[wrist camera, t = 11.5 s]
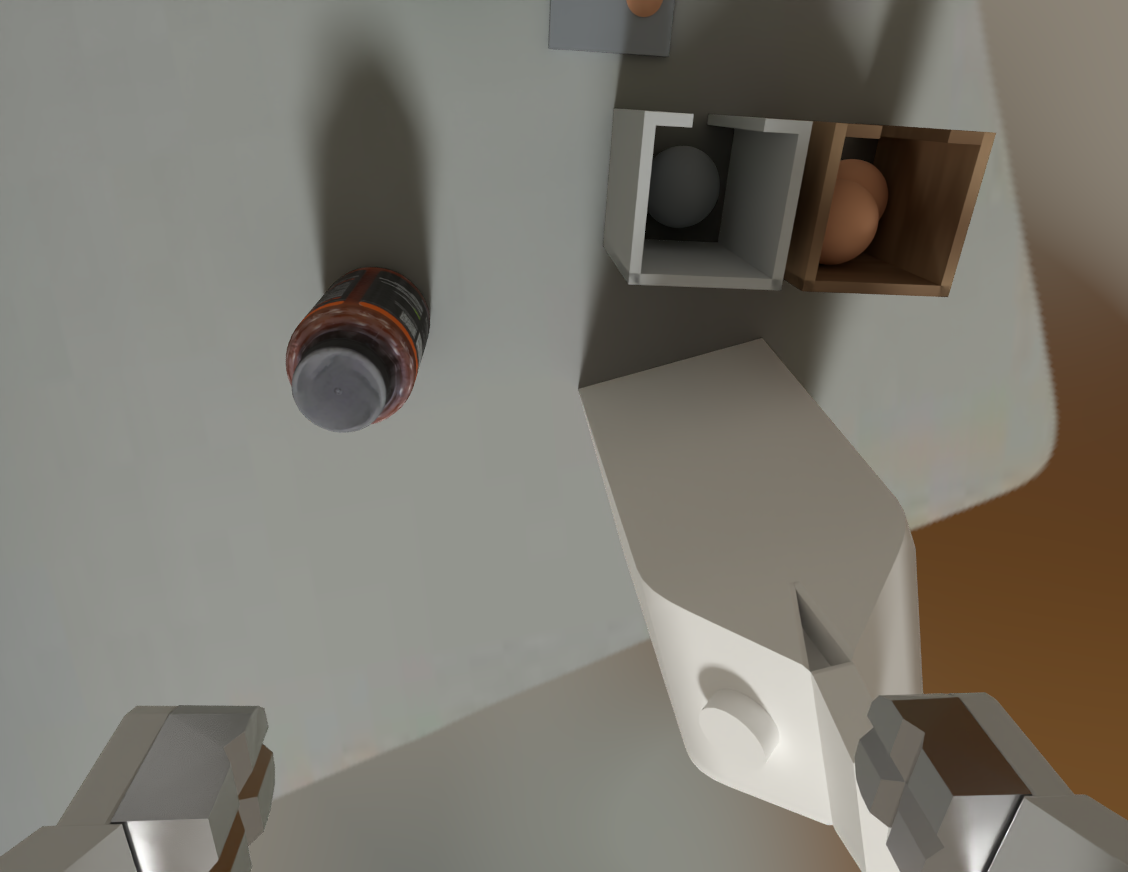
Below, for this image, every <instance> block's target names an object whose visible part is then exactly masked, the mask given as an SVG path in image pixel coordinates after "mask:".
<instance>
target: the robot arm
mask: <svg viewBox="0 0 1128 872" xmlns="http://www.w3.org/2000/svg"><path fill="white" fill-rule="evenodd" d="M867 717H868V718H869V720H870V722H871V724H872V725H873V728H872V729H871V730H870V731H869V732H868V733H866V734H865V735H864V736H863V737H862V738H860V739H859V742H858V746H857V750H856V753H855V757H854V759H855V773H856V780H857V783H858V787H859V790H860V793H861V796H862V798H863V800H864V802H865V804H866V806H867V808H868V810H869V812H870V813H871V814H872V815H873V816H875V817H876V818H877V819H878V820H880V821H881V822H882V823H883V824H885V825H886V826H887V827H888V828H889V829H888V834H887V840H886V846H887V847H888V849H889V851H890V853H891V855H892V857H893V859H894V861H895V863H896V865H897V867H898V869H899V871H900V872H1128V821H1127V820H1126V819H1124V818H1122V817H1121V816H1119V815H1118V814H1116V813H1114V812H1113V811H1111V810H1110V809H1108V808H1106V807H1105V806H1103V805H1102V804H1100V803H1098V802H1097V801H1095V800H1094V799H1092V798H1090V797H1089V796H1087V795H1074V793H1073V792H1072V791H1071V790H1070V789H1069V788H1068V786H1067V785H1066V784H1065V783H1064V781H1063V780H1062V779H1061V778H1060V776H1059V775H1058V774H1057V773H1056V772H1055V770H1054V769H1053V768H1052V767H1051V766H1050V764H1049V763H1048V762H1047V761H1046V759H1045V758H1044V757H1043V756H1042V755H1041V754H1040V752H1039V751H1038V750H1037V749H1036V747H1035V746H1034V745H1033V744H1032V742H1031V741H1030V740H1029V739H1028V738H1027V737H1026V735H1025V734H1024V733H1023V732H1022V730H1021V729H1020V728H1019V727H1018V726H1017V724H1016V723H1015V722H1014V721H1013V719H1012V718H1011V717H1010V716H1009V715H1008V713H1007V712H1006V711H1005V710H1004V709H1003V707H1002V706H1001V705H1000V704H999V702H998V701H997V700H995V699H994V698H993V697H991V696H990V695H988V694H986V693H954V694H953V693H950V694H907V695H879V696H878V697H877V698H876V699H875V700H874V701H872V703H871V706H870V709H869V711H868V714H867ZM267 730H268V722H267V718H266V713H265V708H263V707H260V706H196V705H179V706H136V707H135V708H133V709H132V710H131V711H130V712H128V713H127V714H126V715H125V716H124V717H123V719H122V721H121V722H120V724H119V725H118V727H117V729H116V730H115V732H114V734H113V735H112V737H111V738H110V740H109V742H108V743H107V745H106V746H105V748H104V750H103V751H102V753H101V754H100V756H99V758H98V759H97V761H96V762H95V764H94V766H93V767H92V769H91V770H90V772H89V774H88V775H87V777H86V779H85V780H84V782H83V783H82V785H81V787H80V788H79V790H78V791H77V793H76V795H75V796H74V798H73V799H72V801H71V803H70V804H69V806H68V807H67V809H66V811H65V812H64V814H63V816H62V817H61V819H60V820H59V822H58V824H57V825H56V826H42V827H41V828H39V829H38V830H37V831H35V832H34V833H33V834H31V835H30V836H28V837H27V838H26V839H24V840H23V841H21V842H20V843H19V844H17V845H16V846H15V847H13V848H12V849H10V850H9V851H8V852H6V853H5V854H3V855H2V856H1V857H0V872H251V869H252V864H251V859H250V854H249V848H248V846H249V845H250V844H251V843H252V842H253V841H254V840H256V839H257V838H258V836H260V835H261V834H262V833H263V832H264V829H265V826H266V822H267V820H268V816H269V813H270V810H271V804H272V798H273V792H274V786H275V764H274V757H273V752H272V751H271V750H269V749H268V748H267V747H266V746H265V745H264V744H263V741H264V738H265V735H266V733H267Z"/></svg>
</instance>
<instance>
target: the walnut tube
mask: <svg viewBox="0 0 1128 872" xmlns="http://www.w3.org/2000/svg"><path fill="white" fill-rule="evenodd" d="M772 119H777V118H772ZM786 120H793V119H786ZM800 121H808V120H800ZM995 135H996V133H991V132H976V131H962V130H947V129H933V128H918V127H904V126H889V125H873V124H857V123H855V124H850V123H836V122H822V121H813V124H812V129H811V135H810V140H809V145H808V150H807V156H806V161H805V166H804V171H803V177H802V182H801V187H800V193H799V198H798V203H797V208H796V214H795V219H794V224H793V230H792V235H791V240H790V245H789V251H788V256H787V261H786V267H785V272H784V277H783V279H784V280H786V281H787V282H789V283H790V284H792V285H793V286H795V287H796V288H798V289H800V290H801V291H809V292H834V293H860V294H885V295H911V296H936V297H948V295H949V292H950V289H951V285H952V282H953V278H954V275H955V271H956V268H957V265H958V261H959V258H960V254H961V251H962V247H963V244H964V241H965V237H966V234H967V230H968V227H969V224H970V220H971V217H972V213H973V210H974V206H975V203H976V200H977V196H978V193H979V189H980V186H981V182H982V179H983V176H984V172H985V169H986V165H987V162H988V159H989V155H990V152H991V148H992V145H993V141H994V138H995ZM845 137H857V138H874V139H879V140H878V145H877V149H876V153H875V158H874V162H873V165H874V166H875V167H876V168H877V169H878V170H879V171H880V172H881V173H882V175H883V176H884V178H885V180H886V183H887V187H888V201H887V206H886V209H885V211H884V213H883V215H882V217H881V218H880V220H879V221H878V228H877V231H876V234H875V236H874V238H873V240H872V241H871V243H870V244H869V246H868V247H867V248H866V249H865V250H864V251H863V252H862V253H861V254H860V255H858V256H857V257H855V258H854V259H852V260H849V261H847V262H844V263H841V264H835V265H826V264H820V263H819V260H820V255H821V250H822V246H823V241H824V236H825V231H826V227H827V222H828V217H829V212H830V207H831V203H832V198H833V193H834V188H835V183H836V179H837V174H838V169H839V164H840V160H841V155H842V150H843V145H844V140H845Z"/></svg>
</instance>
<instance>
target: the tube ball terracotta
mask: <svg viewBox="0 0 1128 872" xmlns="http://www.w3.org/2000/svg"><path fill="white" fill-rule="evenodd" d="M837 179H844V180H850V181H853V182H856V183H858V184H860V185H862V186H863V187H864V188H866V189H867V190H868V191H869V192H870V194H871V195H872V196H873V198H874V200H875V202H876V205H877V208H878V213H879V220H880V218H881V217H882V215H883V213H884V211H885V209H886V206H887V201H888V187H887V183H886V180H885V178H884V176H883V175H882V173H881V172H880V171H879V170H878V169H877V168H876V167H875V166H874V165H872V164H870V163H868V162H866V161H863V160H858V159H846V160H841V161H840V164H839V169H838V174H837Z"/></svg>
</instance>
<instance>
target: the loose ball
mask: <svg viewBox="0 0 1128 872" xmlns="http://www.w3.org/2000/svg"><path fill="white" fill-rule="evenodd" d="M878 221H879V213H878V208H877V205H876V202H875V200H874V198H873V196H872V195H871V194H870V192H869V191H868V190H867V189H866V188H864V187H863V186H862V185H860V184H858V183H856V182H853V181H850V180H844V179H836V183H835V188H834V193H833V198H832V203H831V207H830V212H829V217H828V222H827V227H826V231H825V236H824V241H823V246H822V250H821V255H820V260H819V263H820V264H826V265H835V264H841V263H844V262H847V261H849V260H852V259H854V258H855V257H857V256H858V255H860V254H861V253H862V252H863V251H864V250H865V249H866V248H867V247H868V246H869V244H870V243H871V241H872V240H873V238H874V236H875V234H876V231H877V228H878Z"/></svg>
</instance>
